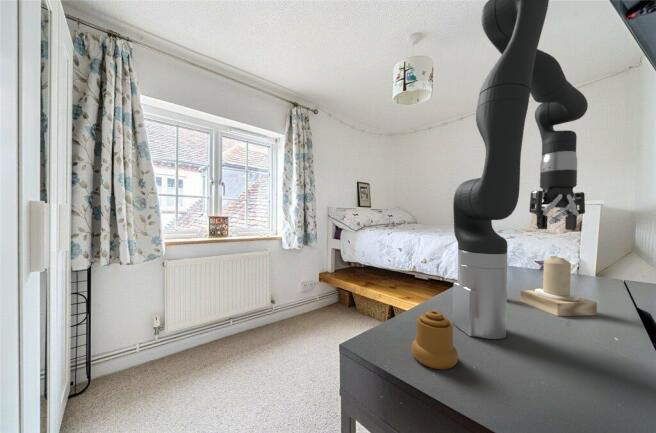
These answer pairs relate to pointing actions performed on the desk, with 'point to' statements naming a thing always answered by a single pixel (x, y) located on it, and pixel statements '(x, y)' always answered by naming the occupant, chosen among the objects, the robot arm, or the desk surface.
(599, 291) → the desk surface
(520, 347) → the desk surface
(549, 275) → the candle
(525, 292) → the candle stand
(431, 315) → the ornamental finial
